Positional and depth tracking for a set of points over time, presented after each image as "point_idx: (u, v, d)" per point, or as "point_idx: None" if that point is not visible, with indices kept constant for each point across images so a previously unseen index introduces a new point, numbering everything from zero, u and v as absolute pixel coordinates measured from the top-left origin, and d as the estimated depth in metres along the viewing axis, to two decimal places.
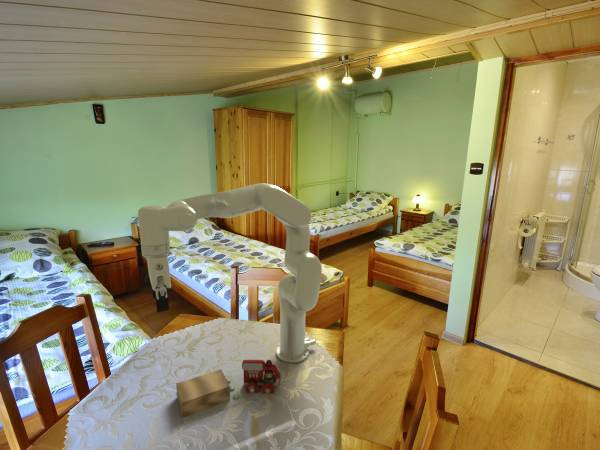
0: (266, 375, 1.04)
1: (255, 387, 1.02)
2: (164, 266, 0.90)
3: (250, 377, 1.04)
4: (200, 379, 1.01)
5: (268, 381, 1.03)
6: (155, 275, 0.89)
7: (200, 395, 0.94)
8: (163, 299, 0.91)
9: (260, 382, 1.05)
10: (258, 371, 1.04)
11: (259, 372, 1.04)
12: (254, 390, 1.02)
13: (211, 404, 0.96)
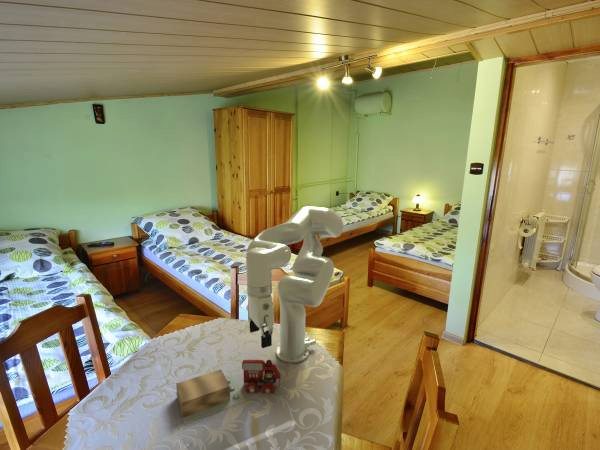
0: (266, 375, 1.04)
1: (255, 387, 1.02)
2: (270, 306, 0.96)
3: (250, 377, 1.04)
4: (200, 379, 1.01)
5: (268, 381, 1.03)
6: (262, 314, 0.95)
7: (200, 395, 0.94)
8: (268, 336, 0.96)
9: (260, 382, 1.05)
10: (258, 371, 1.04)
11: (259, 372, 1.04)
12: (254, 390, 1.02)
13: (211, 404, 0.96)
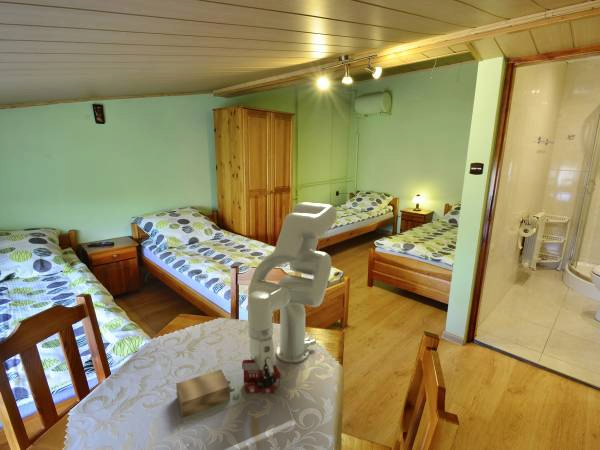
0: None
1: (255, 387, 1.02)
2: (271, 348, 0.99)
3: (250, 377, 1.04)
4: (200, 379, 1.01)
5: None
6: (263, 357, 0.98)
7: (200, 395, 0.94)
8: (269, 377, 0.99)
9: (260, 382, 1.04)
10: (258, 371, 1.04)
11: (259, 372, 1.04)
12: (255, 390, 1.02)
13: (211, 404, 0.96)
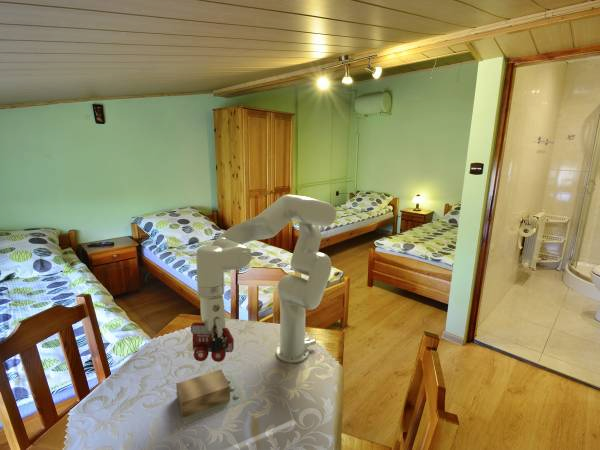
0: None
1: (204, 351, 0.93)
2: (220, 307, 0.90)
3: (200, 341, 0.95)
4: (200, 379, 1.01)
5: None
6: (212, 316, 0.89)
7: (200, 395, 0.94)
8: (218, 340, 0.91)
9: None
10: (208, 335, 0.95)
11: (209, 336, 0.95)
12: (203, 355, 0.93)
13: (211, 404, 0.96)
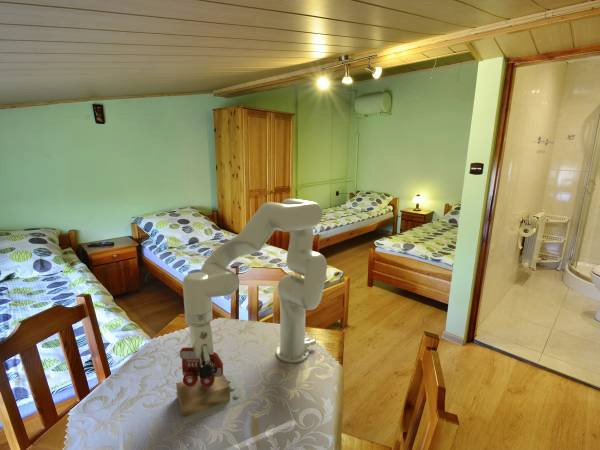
0: None
1: (193, 377, 0.94)
2: (208, 334, 0.91)
3: (189, 366, 0.96)
4: None
5: None
6: (199, 344, 0.90)
7: (200, 395, 0.94)
8: (206, 366, 0.92)
9: None
10: (197, 360, 0.96)
11: (198, 361, 0.96)
12: (193, 380, 0.94)
13: (211, 404, 0.96)
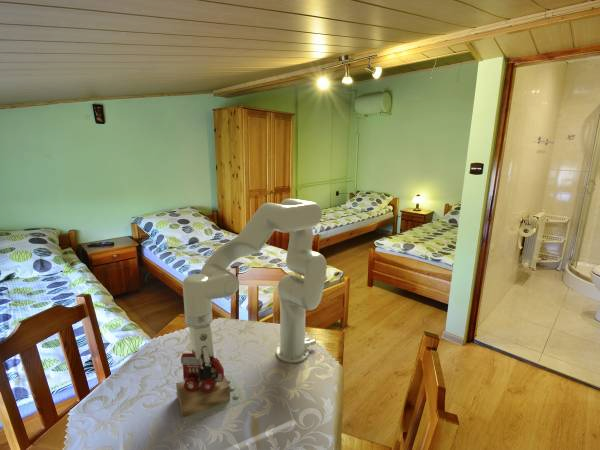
0: None
1: (194, 383, 0.95)
2: (208, 336, 0.91)
3: (190, 372, 0.97)
4: None
5: None
6: (199, 345, 0.90)
7: (200, 395, 0.94)
8: (207, 368, 0.92)
9: None
10: (198, 365, 0.96)
11: (199, 367, 0.96)
12: (194, 386, 0.95)
13: (211, 404, 0.96)
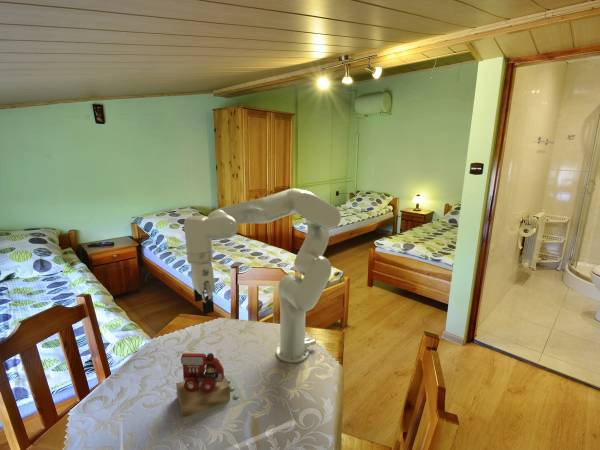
0: (207, 370, 0.96)
1: (194, 383, 0.95)
2: (209, 272, 0.97)
3: (190, 372, 0.97)
4: None
5: (209, 376, 0.96)
6: (202, 280, 0.96)
7: (200, 395, 0.94)
8: (209, 302, 0.98)
9: (201, 377, 0.97)
10: (198, 365, 0.96)
11: (199, 367, 0.96)
12: (194, 386, 0.95)
13: (211, 404, 0.96)
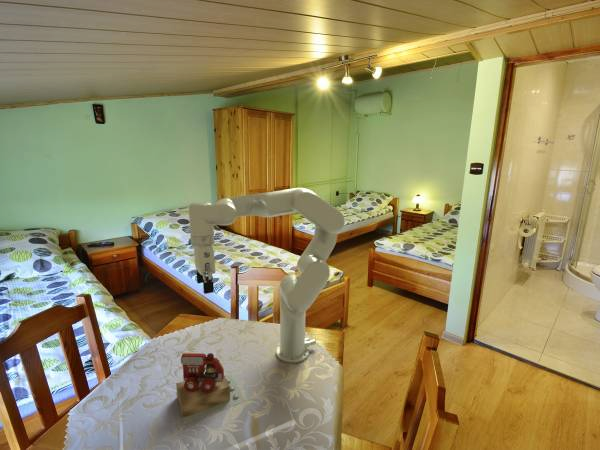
0: (207, 370, 0.96)
1: (194, 383, 0.95)
2: (211, 254, 1.04)
3: (190, 372, 0.97)
4: None
5: (209, 376, 0.96)
6: (203, 262, 1.03)
7: (200, 395, 0.94)
8: (209, 282, 1.05)
9: (201, 377, 0.97)
10: (198, 365, 0.96)
11: (199, 367, 0.96)
12: (194, 386, 0.95)
13: (211, 404, 0.96)
